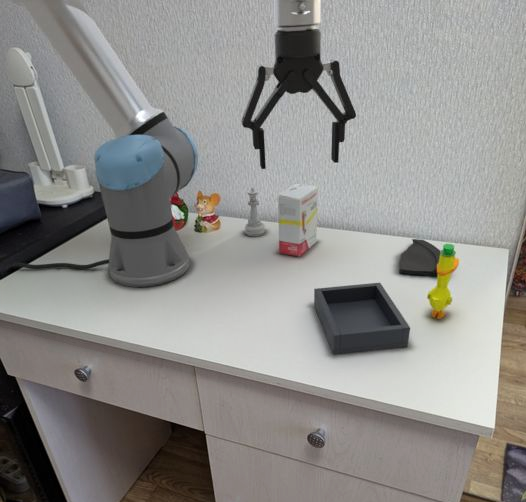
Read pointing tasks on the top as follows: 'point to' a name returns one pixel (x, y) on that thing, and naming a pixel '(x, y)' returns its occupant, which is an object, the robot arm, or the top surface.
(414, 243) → the dark sector wedge
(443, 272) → the toy figure
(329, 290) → the dark gray rectangular tray
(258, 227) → the chess piece
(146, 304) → the top surface
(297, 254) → the ink box
